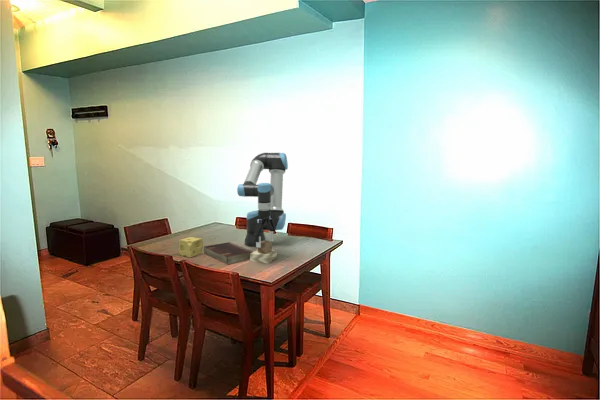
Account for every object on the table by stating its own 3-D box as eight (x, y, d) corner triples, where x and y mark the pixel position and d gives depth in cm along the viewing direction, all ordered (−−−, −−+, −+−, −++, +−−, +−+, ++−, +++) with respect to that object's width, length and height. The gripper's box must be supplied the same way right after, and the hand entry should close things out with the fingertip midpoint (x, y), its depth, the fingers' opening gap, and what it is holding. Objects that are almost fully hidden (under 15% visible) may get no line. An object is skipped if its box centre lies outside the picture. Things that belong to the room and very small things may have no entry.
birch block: (250, 261, 207) (249, 253, 207) (258, 256, 219) (258, 248, 218) (268, 264, 204) (268, 255, 203) (276, 258, 215) (276, 250, 214)
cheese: (190, 258, 213) (189, 241, 212) (178, 255, 219) (177, 239, 217) (203, 253, 222) (202, 238, 220) (191, 251, 227) (191, 236, 226)
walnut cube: (257, 252, 209) (257, 242, 208) (263, 250, 214) (263, 240, 214) (265, 254, 206) (265, 244, 205) (271, 251, 211) (271, 241, 210)
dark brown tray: (254, 258, 213) (254, 250, 213) (227, 265, 201) (227, 257, 200) (230, 248, 235) (229, 241, 234) (203, 254, 222) (203, 246, 222)
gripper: (257, 213, 194) (258, 250, 198) (280, 206, 216) (281, 240, 220) (246, 212, 198) (247, 248, 201) (270, 205, 220) (270, 238, 223)
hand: (264, 244), depth 210 cm, fingers open, 13 cm apart
